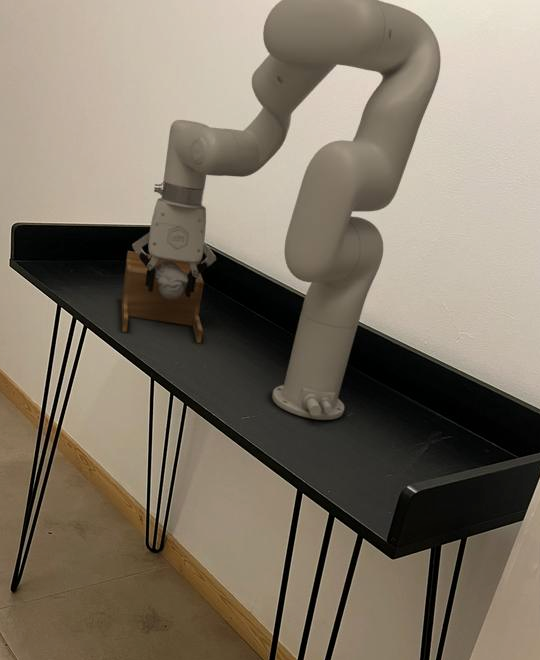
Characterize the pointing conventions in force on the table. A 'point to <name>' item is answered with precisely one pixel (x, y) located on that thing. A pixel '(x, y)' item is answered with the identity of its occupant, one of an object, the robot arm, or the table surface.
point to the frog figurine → (170, 280)
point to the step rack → (158, 297)
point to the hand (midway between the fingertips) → (169, 291)
